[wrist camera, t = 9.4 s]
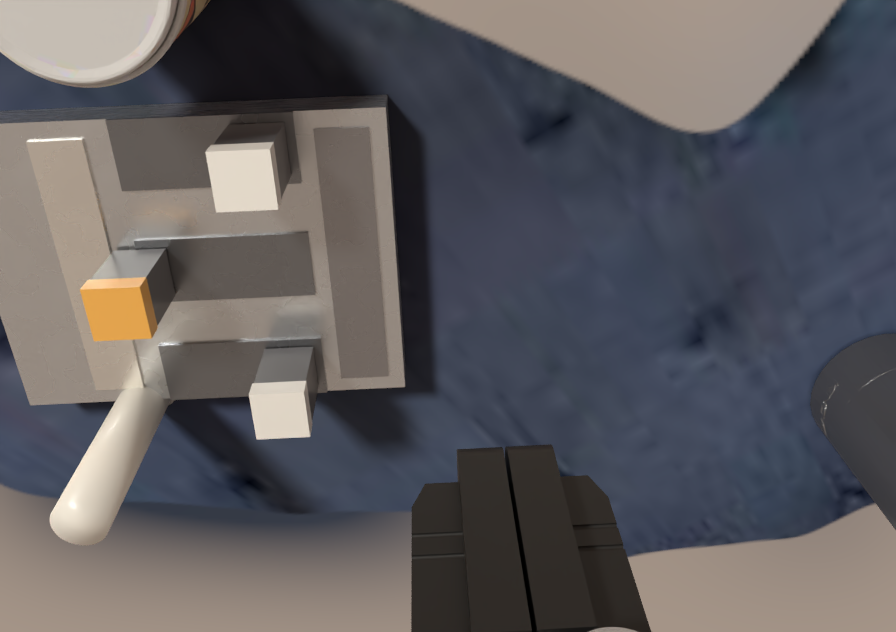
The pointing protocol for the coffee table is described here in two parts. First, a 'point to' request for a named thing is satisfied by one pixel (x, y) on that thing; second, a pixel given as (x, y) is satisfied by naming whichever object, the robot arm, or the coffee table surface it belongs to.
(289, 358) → the toggle
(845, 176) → the coffee table surface
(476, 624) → the robot arm
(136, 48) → the coffee cup
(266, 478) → the coffee table surface
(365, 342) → the breaker panel
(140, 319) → the toggle
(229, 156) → the toggle
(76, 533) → the post
